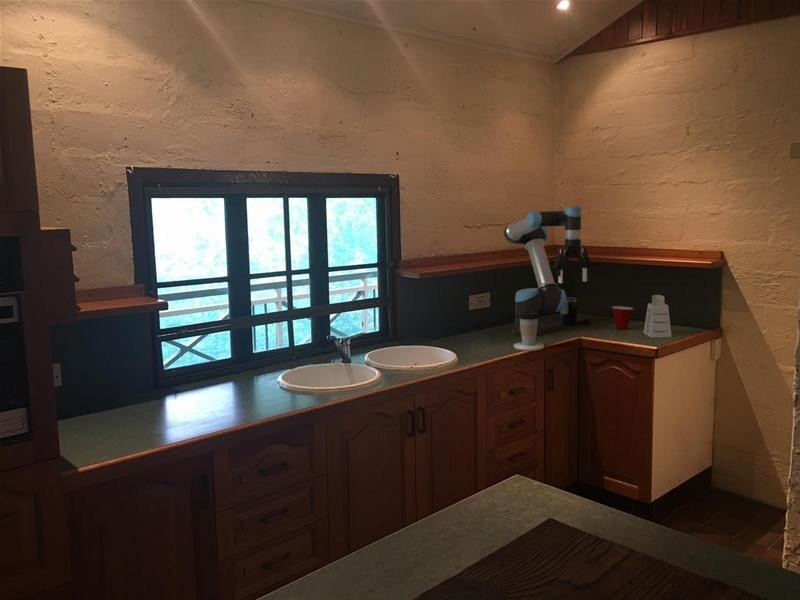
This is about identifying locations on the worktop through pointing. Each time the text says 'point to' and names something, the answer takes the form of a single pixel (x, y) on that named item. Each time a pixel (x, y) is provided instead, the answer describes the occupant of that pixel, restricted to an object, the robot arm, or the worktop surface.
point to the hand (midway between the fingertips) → (572, 282)
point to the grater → (657, 318)
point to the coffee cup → (528, 328)
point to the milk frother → (570, 313)
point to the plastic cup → (622, 316)
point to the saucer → (536, 347)
